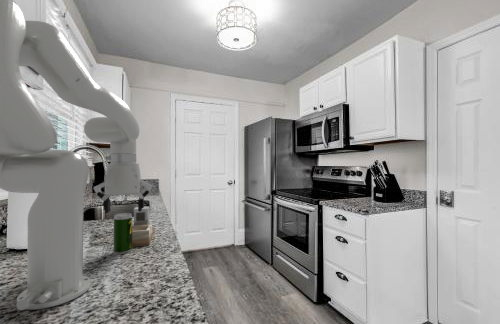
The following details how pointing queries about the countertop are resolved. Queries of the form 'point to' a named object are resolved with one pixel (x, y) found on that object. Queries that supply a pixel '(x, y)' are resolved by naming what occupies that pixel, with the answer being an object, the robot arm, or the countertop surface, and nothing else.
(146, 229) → the wooden box with panel
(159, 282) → the countertop surface
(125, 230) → the beer can
